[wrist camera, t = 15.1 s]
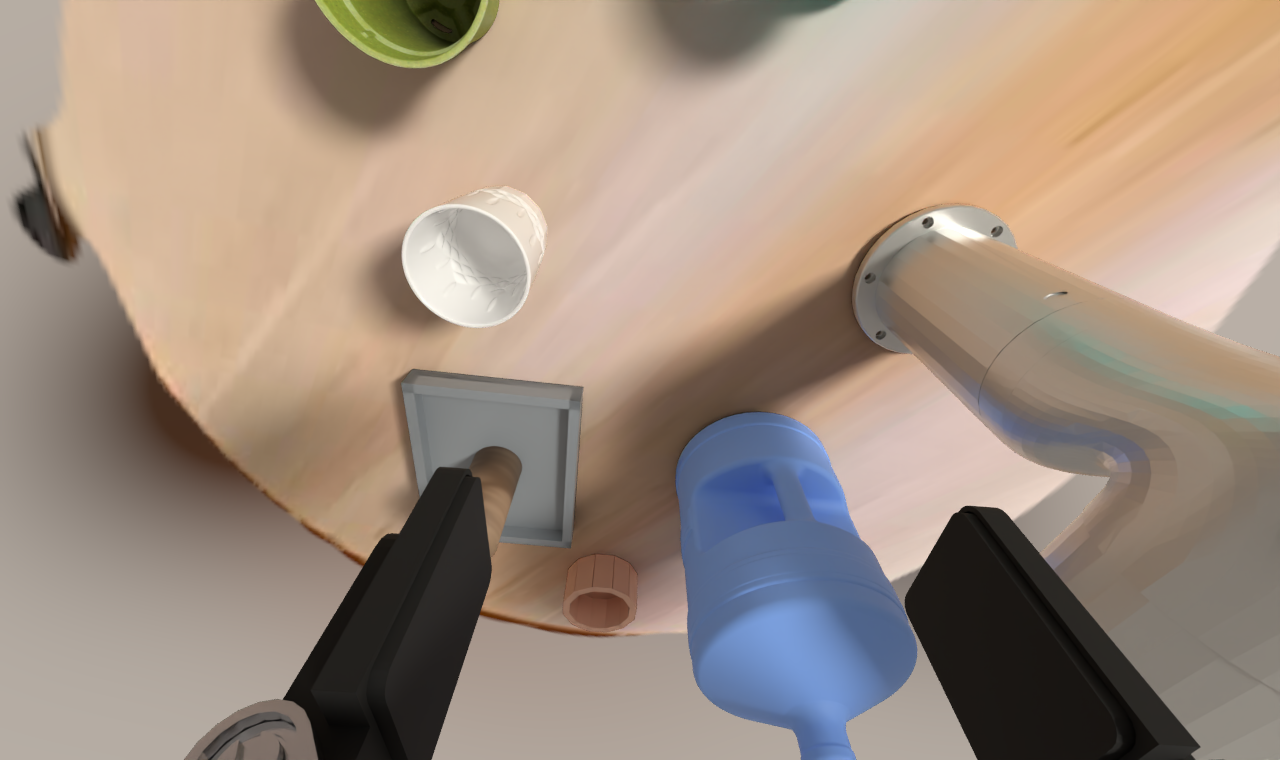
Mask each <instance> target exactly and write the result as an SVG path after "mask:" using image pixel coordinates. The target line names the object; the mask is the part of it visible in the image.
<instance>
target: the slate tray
mask: <svg viewBox="0 0 1280 760" xmlns="http://www.w3.org/2000/svg"><path fill="white" fill-rule="evenodd" d="M401 385H402V391H403V398H404V404H405V410H406V416H407V422H408V428H409V435H410V441H411V447H412V453H413V459H414V465H415V472H416V478H417V484H418V490H419V496H420V497H421V495H422V493H423V491H424V490H425V488H426V486H427V484H428V483H429V481H430V479H431V477H432V476H433V474H434V472H435V471H436V469H437V468H439V467H451V468H465V469H469V467H470V465H471V463H472V460H473V458H474V456H475V454H476V453H477V452H478V451H479V450H481V449H482V448H485V447H489V446H499V447H503V448H506V449H509V450H510V451H512V452H513V453H515V454H516V455H517V456H518V457H519V459H520V461H521V463H522V471H521V475H520V478H519V481H518V484H517V487H516V490H515V493H514V496H513V500H512V503H511V506H510V509H509V512H508V515H507V518H506V521H505V525H504V528H503V531H502V534H501V537H500V540H499V542H503V543H515V544H526V545H538V546H549V547H561V548H571V544H572V537H573V531H574V517H575V502H576V488H577V474H578V459H579V445H580V430H581V416H582V401H583V387H579V386H570V385H560V384H551V383H541V382H532V381H522V380H513V379H503V378H494V377H484V376H475V375H465V374H456V373H446V372H437V371H427V370H418V369H412V370H411V372H410V373H409V374H408V375H407V376H406V378H405V379H404V380H403V381H402V383H401Z"/></svg>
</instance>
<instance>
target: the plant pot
mask: <svg viewBox="0 0 1280 760" xmlns="http://www.w3.org/2000/svg"><path fill="white" fill-rule="evenodd" d="M315 2H316V3H317V5H318V6H319V8H320V9H321V11H322V12H323V14H324V15H325V16H326V18H327V19H328V20H329V22H330V23H331V24H332V25H333V26H334V27H335V28H336V29H337V31H338V32H339V33H340V34H341V35H343V36H344V37H345V38H346V39H347V40H348V41H349V42H350V43H352V44H353V45H354V46H356V47H357V48H358V49H360V50H361V51H363V52H364V53H366V54H367V55H369V56H371V57H373V58H375V59H377V60H379V61H382V62H384V63H387V64H390V65H393V66H397V67H403V68H427V67H432V66H436V65H439V64H442V63H444V62H447V61H449V60H451V59H452V58H454V57H455V56H457V55H458V54H459V53H460V52H462V51H463V50H464V49H465V48H466V47H467V46H468V45H469V43H472V42H474V41H476V40H478V39H480V38H481V37H483V36H484V35H485V34H486V33H487V31H488V30H489V29H490V27H491V26H492V24H493V23H494V20H495V18H496V15H497V12H498V7H499V0H315ZM432 19H435V20H436V21H437V22H439V23H440V24H442V25H443V26H445V27H447V28H448V29H451V30H452V32H451V33H447V32H442V31H440V30H439V29H437V28H436V27H434V25H433V24H432V22H431V20H432Z"/></svg>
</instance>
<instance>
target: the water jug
mask: <svg viewBox="0 0 1280 760" xmlns="http://www.w3.org/2000/svg"><path fill="white" fill-rule="evenodd" d="M675 481H676V491H677V496H678V499H679V508H680V520H681V536H680V540H681V553H682V559H683V564H684V567H685V577H686V589H687V601H688V616H687V629H688V641H689V649H690V655H691V659H692V665H693V673H694V677H695V680H696V683H697V685H698V687H699V688H700V690H701V691H702V692H703V694H704V695H705V696H706V697H707V698H708V699H709V700H710V701H711V702H712V703H713V704H715V705H716V706H718V707H719V708H721V709H722V710H725V711H726V712H728V713H731V714H733V715H735V716H738V717H741V718H744V719H748V720H752V721H756V722H761V723H765V724H770V725H774V726H778V727H783V728H787V729H792V730H793V731H794V733H795V735H796V737H797V740H798V744H799V748H800V752H801V760H856V757H855V754H854V752H853V751H852V749H851V746H850V743H849V740H848V736H847V733H846V722H847V721H849V720H851V719H853V718H854V717H856V716H858V715H860V714H861V713H863V712H865V711H867V710H868V709H870V708H872V707H873V706H875V705H877V704H879V703H880V702H882V701H884V700H885V699H887V698H888V697H890V696H891V695H892V694H894V693H895V692H896V691H897V690H898V689H899V688H900V687H901V686H902V685H903V684H904V683H905V682H906V681H907V679H908V678H909V676H910V675H911V673H912V671H913V669H914V666H915V663H916V659H917V645H916V640H915V637H914V634H913V632H912V630H911V628H910V626H909V624H908V619H907V616H906V614H905V611H904V609H903V606H902V604H901V603H900V601H899V598H898V596H897V595H896V592H895V591H894V589H893V587H892V585H891V583H890V582H889V580H888V579H887V578H886V576H885V575H884V573H883V571H882V569H881V567H880V564H879V562H878V560H877V558H876V556H875V555H874V553H873V551H872V550H871V549H870V548H869V546H868V545H867V544H866V543H864V542H863V541H862V540H861V539H860V537H859V535H858V533H857V530H856V528H855V526H854V524H853V522H852V520H851V518H850V515H849V512H848V508H847V504H846V499H845V495H844V492H843V489H842V487H841V485H840V483H839V481H838V479H837V477H836V475H835V473H834V471H833V469H832V467H831V463H830V460H829V457H828V455H827V453H826V451H825V449H824V447H823V445H822V443H821V441H820V440H819V438H818V437H817V436H816V435H815V434H814V433H813V432H812V431H811V430H810V429H809V428H808V427H806V426H805V425H803V424H802V423H800V422H798V421H797V420H794V419H792V418H790V417H787V416H784V415H780V414H775V413H769V412H748V413H741V414H736V415H732V416H729V417H726V418H723V419H721V420H718V421H716V422H714V423H712V424H710V425H709V426H707V427H705V428H704V429H703V430H701V431H700V432H699V433H698V434H696V435H695V436H694V437H693V438H692V439H691V440H690V442H689V443H688V444H687V445H686V447H685V448H684V450H683V452H682V453H681V455H680V458H679V460H678V464H677V468H676V480H675Z"/></svg>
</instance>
